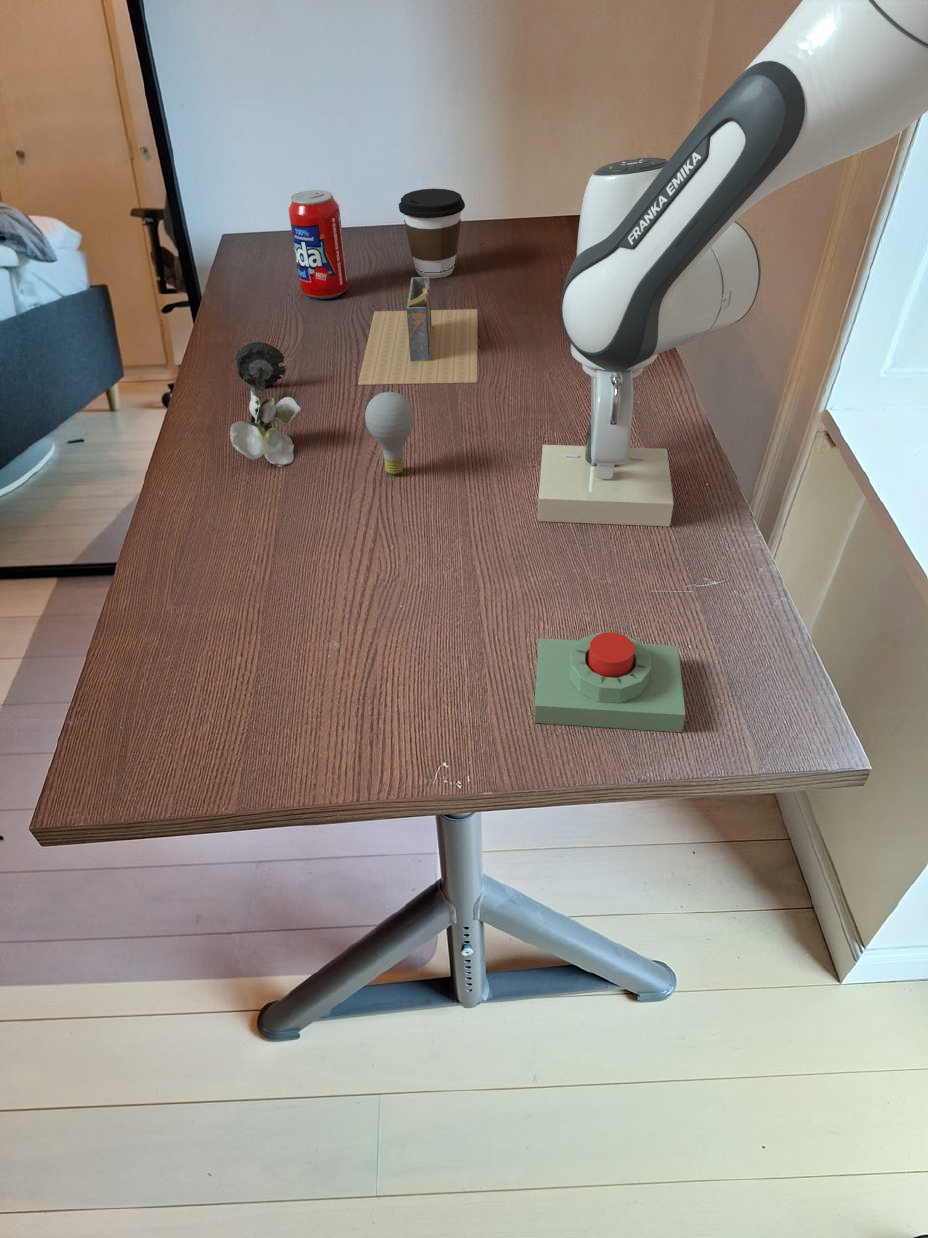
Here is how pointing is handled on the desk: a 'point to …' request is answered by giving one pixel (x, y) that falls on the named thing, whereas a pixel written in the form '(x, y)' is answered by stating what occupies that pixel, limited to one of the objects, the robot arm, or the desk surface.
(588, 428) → the burner knob
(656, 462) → the stove panel
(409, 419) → the light bulb
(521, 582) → the desk surface
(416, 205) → the coffee cup
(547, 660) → the box
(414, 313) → the ruin model on sheet
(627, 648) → the button
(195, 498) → the desk surface
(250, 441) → the artificial flower
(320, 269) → the soda can
